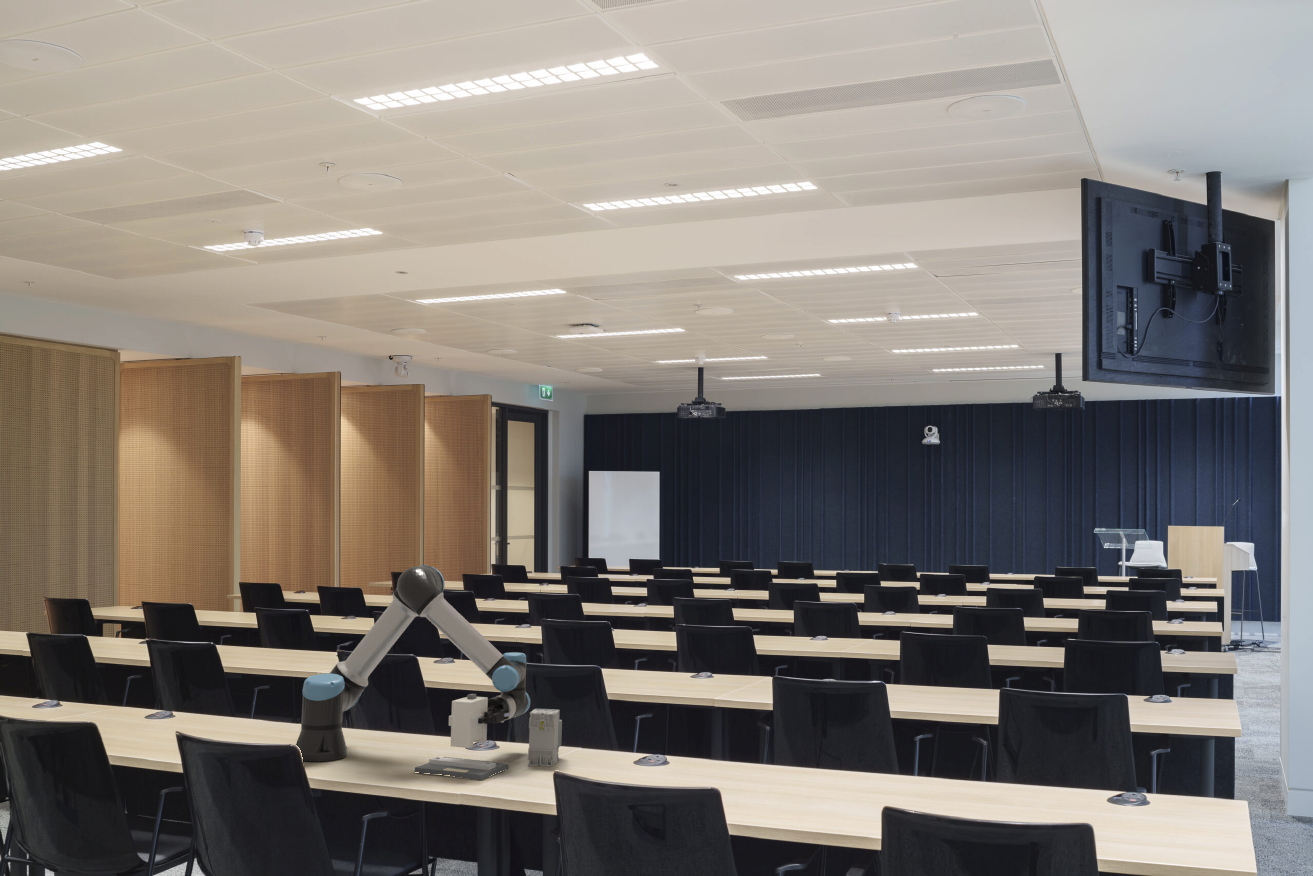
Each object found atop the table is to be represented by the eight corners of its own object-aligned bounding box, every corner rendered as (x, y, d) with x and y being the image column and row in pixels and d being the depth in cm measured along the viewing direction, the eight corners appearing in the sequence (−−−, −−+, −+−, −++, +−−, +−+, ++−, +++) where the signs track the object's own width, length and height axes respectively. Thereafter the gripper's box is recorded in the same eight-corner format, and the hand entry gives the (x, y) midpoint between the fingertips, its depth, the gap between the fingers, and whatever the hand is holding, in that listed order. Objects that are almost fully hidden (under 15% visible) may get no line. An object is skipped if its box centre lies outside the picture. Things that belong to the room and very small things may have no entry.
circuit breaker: (561, 756, 333) (563, 706, 334) (552, 766, 319) (554, 714, 320) (537, 755, 334) (539, 705, 335) (527, 765, 320) (529, 713, 321)
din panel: (414, 773, 306) (415, 762, 306) (443, 761, 321) (444, 751, 321) (481, 780, 299) (482, 769, 300) (508, 768, 314) (508, 758, 315)
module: (450, 746, 307) (452, 696, 308) (467, 740, 316) (469, 691, 317) (469, 748, 305) (471, 698, 306) (486, 741, 314) (487, 693, 315)
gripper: (526, 724, 325) (490, 738, 303) (469, 719, 331) (430, 733, 309) (527, 698, 325) (491, 710, 303) (470, 694, 331) (431, 706, 310)
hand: (460, 721), depth 306 cm, fingers closed on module, 6 cm apart
